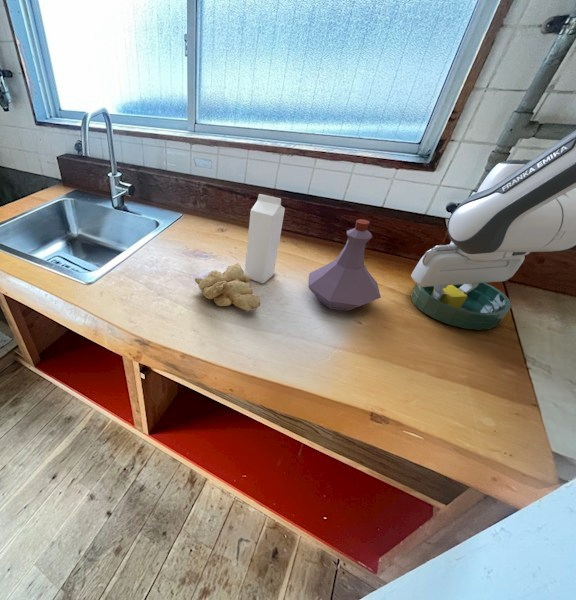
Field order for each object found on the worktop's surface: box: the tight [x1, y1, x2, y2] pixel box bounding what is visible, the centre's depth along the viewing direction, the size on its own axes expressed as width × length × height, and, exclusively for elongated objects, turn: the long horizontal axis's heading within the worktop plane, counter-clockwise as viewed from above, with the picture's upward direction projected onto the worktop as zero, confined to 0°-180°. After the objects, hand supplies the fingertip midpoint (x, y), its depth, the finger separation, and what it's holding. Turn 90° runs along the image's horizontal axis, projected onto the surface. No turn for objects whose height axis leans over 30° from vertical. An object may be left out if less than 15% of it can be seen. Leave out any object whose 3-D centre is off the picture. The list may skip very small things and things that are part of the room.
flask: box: [307, 218, 382, 312], centre depth 72 cm, size 16×16×20 cm
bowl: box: [410, 282, 512, 331], centre depth 73 cm, size 17×17×4 cm
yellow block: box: [431, 285, 468, 309], centre depth 74 cm, size 5×4×4 cm
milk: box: [243, 193, 286, 285], centre depth 82 cm, size 6×6×22 cm
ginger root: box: [194, 263, 262, 312], centre depth 79 cm, size 16×16×8 cm
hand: (447, 297), depth 74 cm, fingers closed on yellow block, 3 cm apart
